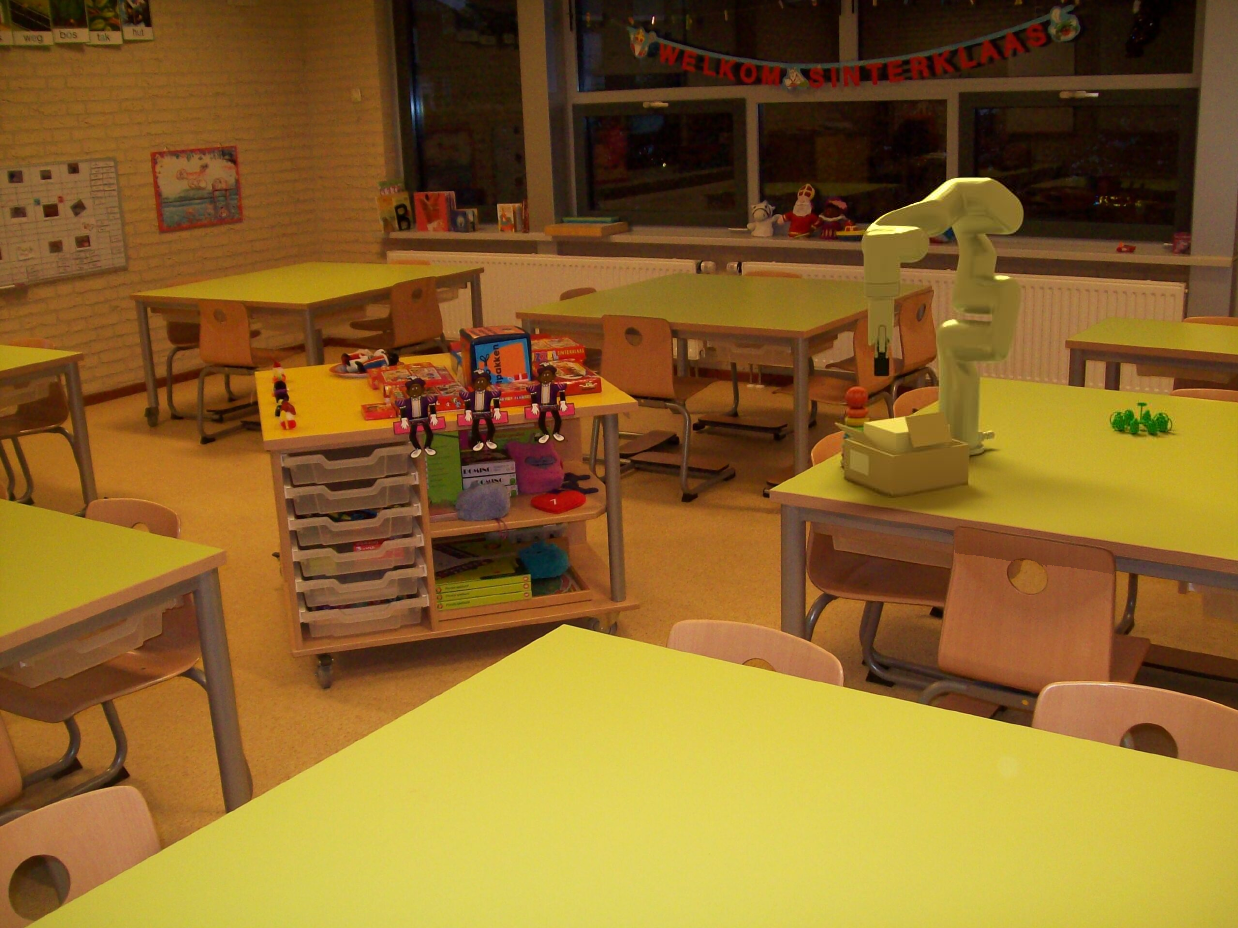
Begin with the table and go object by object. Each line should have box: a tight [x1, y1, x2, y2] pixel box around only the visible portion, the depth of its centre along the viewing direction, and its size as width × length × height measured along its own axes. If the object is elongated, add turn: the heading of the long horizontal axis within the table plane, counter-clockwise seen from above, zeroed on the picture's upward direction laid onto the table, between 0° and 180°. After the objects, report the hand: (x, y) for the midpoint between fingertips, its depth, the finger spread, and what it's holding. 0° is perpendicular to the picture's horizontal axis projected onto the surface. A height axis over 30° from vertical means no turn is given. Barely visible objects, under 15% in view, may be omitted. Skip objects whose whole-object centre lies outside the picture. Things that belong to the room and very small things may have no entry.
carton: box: [843, 414, 970, 498], centre depth 269 cm, size 21×19×13 cm
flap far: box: [834, 421, 882, 450], centre depth 263 cm, size 10×7×1 cm
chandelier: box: [1109, 402, 1173, 436], centre depth 308 cm, size 15×15×7 cm
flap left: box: [904, 411, 952, 448], centre depth 262 cm, size 10×7×1 cm
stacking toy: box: [840, 386, 870, 468], centre depth 282 cm, size 8×8×19 cm
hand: (881, 375), depth 263 cm, fingers closed
